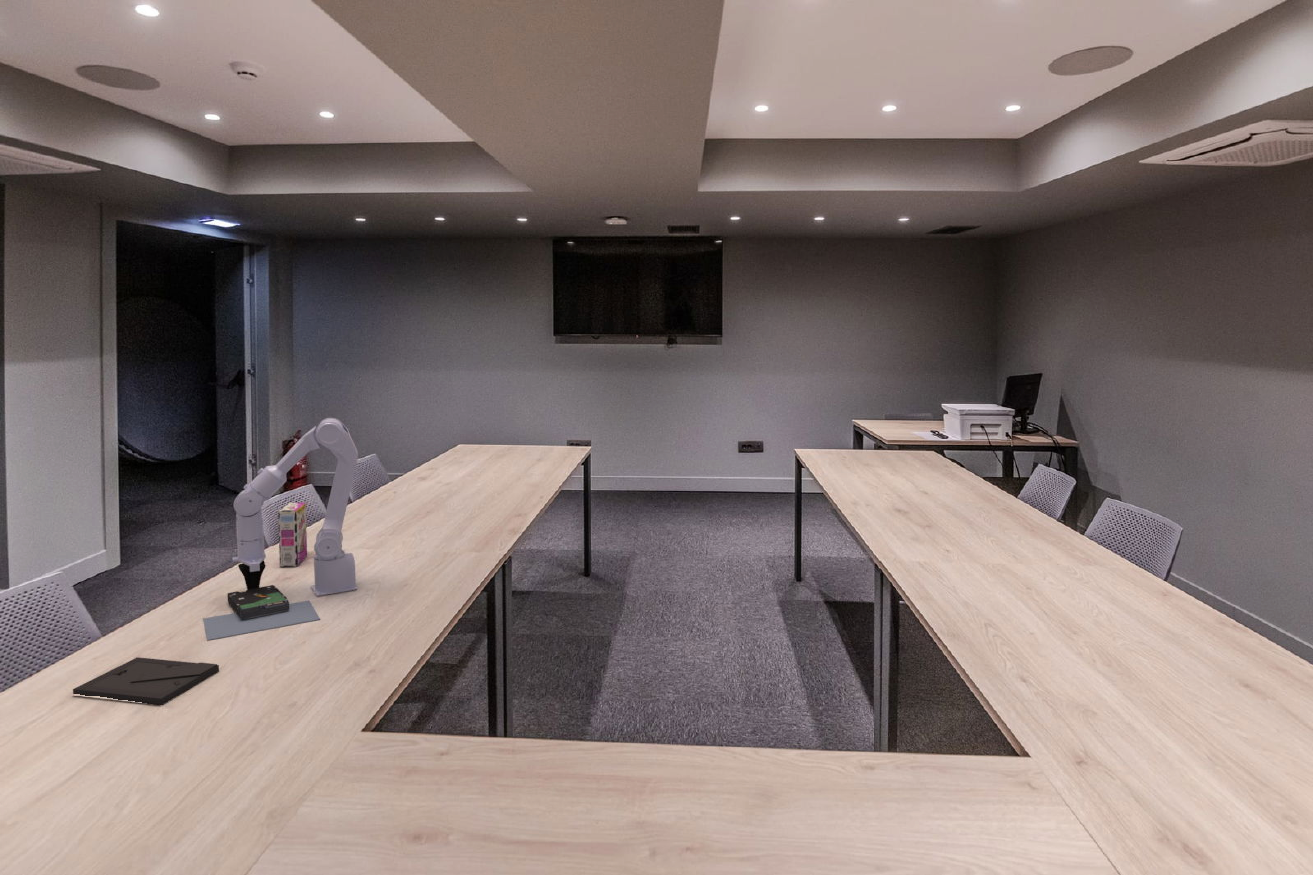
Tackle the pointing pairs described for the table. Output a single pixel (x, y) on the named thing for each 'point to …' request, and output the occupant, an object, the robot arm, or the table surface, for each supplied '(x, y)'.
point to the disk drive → (258, 602)
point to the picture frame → (148, 680)
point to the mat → (258, 621)
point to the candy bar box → (292, 534)
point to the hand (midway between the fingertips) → (253, 591)
